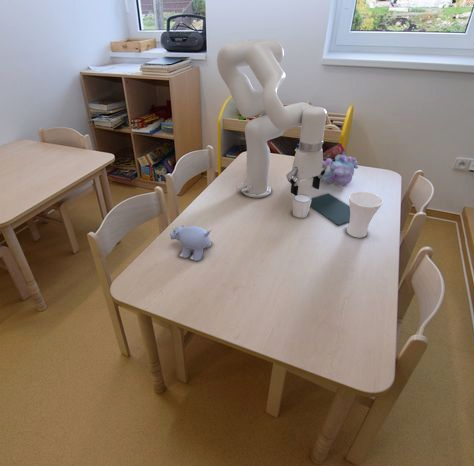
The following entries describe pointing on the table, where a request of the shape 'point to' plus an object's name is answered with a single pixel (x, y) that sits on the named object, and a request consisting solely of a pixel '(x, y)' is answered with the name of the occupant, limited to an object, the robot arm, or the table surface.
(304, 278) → the table surface
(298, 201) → the shot glass
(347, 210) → the mat
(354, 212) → the cup
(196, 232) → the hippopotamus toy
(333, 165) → the pastel bubbly cloud
